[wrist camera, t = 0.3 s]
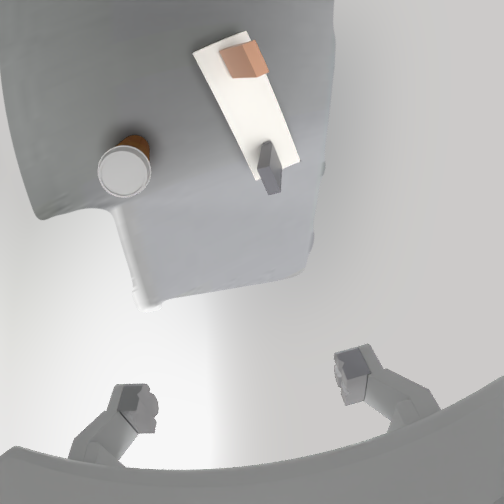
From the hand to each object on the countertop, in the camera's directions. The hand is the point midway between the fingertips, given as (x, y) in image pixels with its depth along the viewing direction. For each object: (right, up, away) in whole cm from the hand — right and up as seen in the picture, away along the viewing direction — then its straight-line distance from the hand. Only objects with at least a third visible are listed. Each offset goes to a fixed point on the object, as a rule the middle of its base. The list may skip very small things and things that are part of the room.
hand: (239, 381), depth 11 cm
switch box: (-1, +34, +39) cm, 52 cm away
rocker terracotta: (-3, +34, +27) cm, 43 cm away
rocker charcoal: (+4, +22, +38) cm, 45 cm away
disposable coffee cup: (-23, +26, +41) cm, 54 cm away
